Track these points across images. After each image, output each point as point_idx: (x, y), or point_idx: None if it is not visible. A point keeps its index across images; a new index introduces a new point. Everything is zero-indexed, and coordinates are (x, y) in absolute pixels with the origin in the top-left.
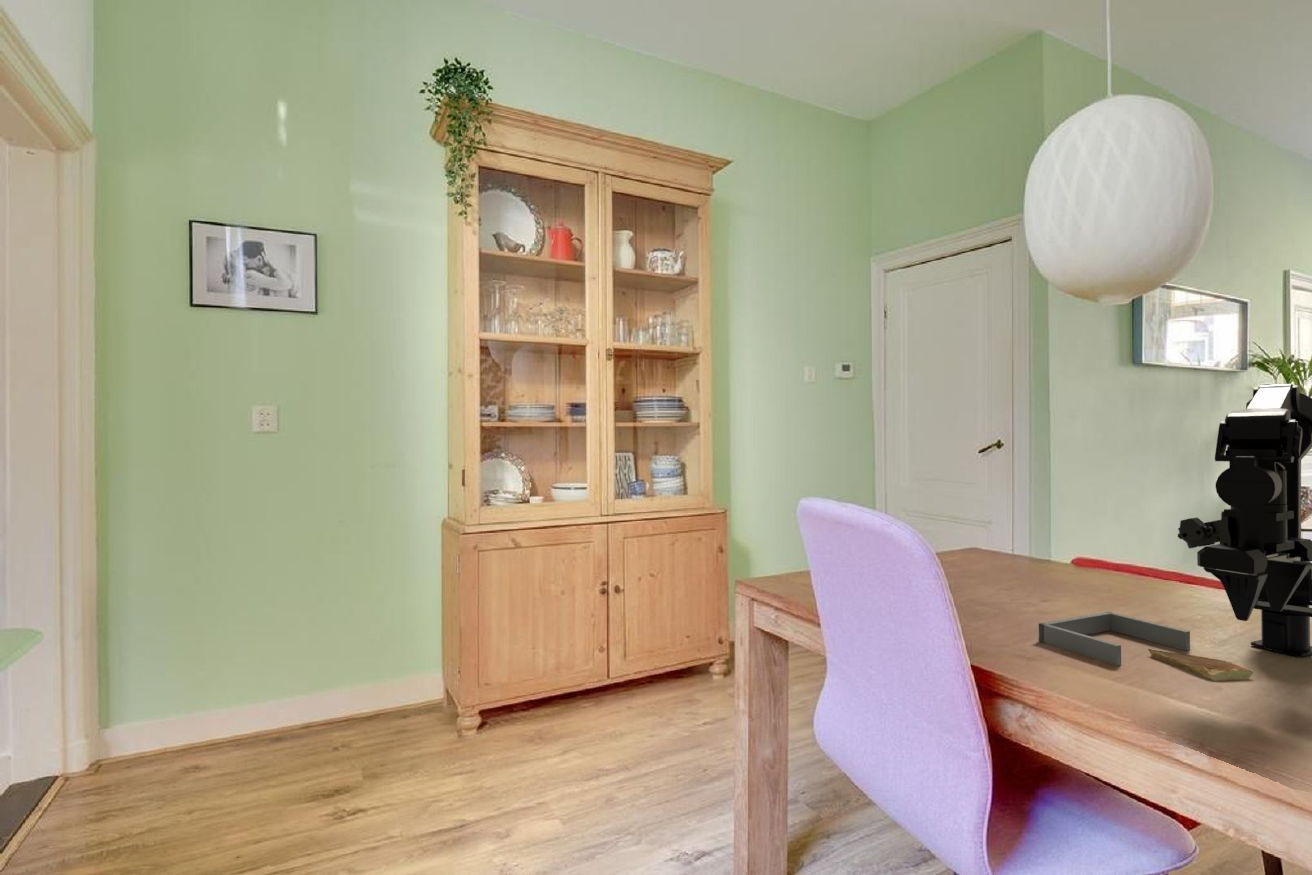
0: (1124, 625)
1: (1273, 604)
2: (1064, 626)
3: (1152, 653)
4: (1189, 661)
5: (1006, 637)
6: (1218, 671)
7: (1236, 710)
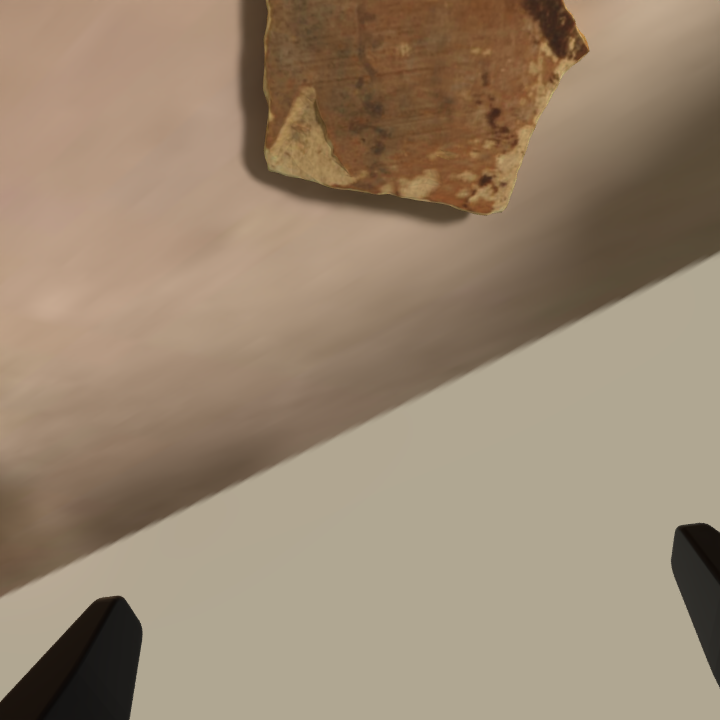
0: None
1: (702, 583)
2: None
3: None
4: None
5: None
6: (319, 168)
7: (70, 408)
